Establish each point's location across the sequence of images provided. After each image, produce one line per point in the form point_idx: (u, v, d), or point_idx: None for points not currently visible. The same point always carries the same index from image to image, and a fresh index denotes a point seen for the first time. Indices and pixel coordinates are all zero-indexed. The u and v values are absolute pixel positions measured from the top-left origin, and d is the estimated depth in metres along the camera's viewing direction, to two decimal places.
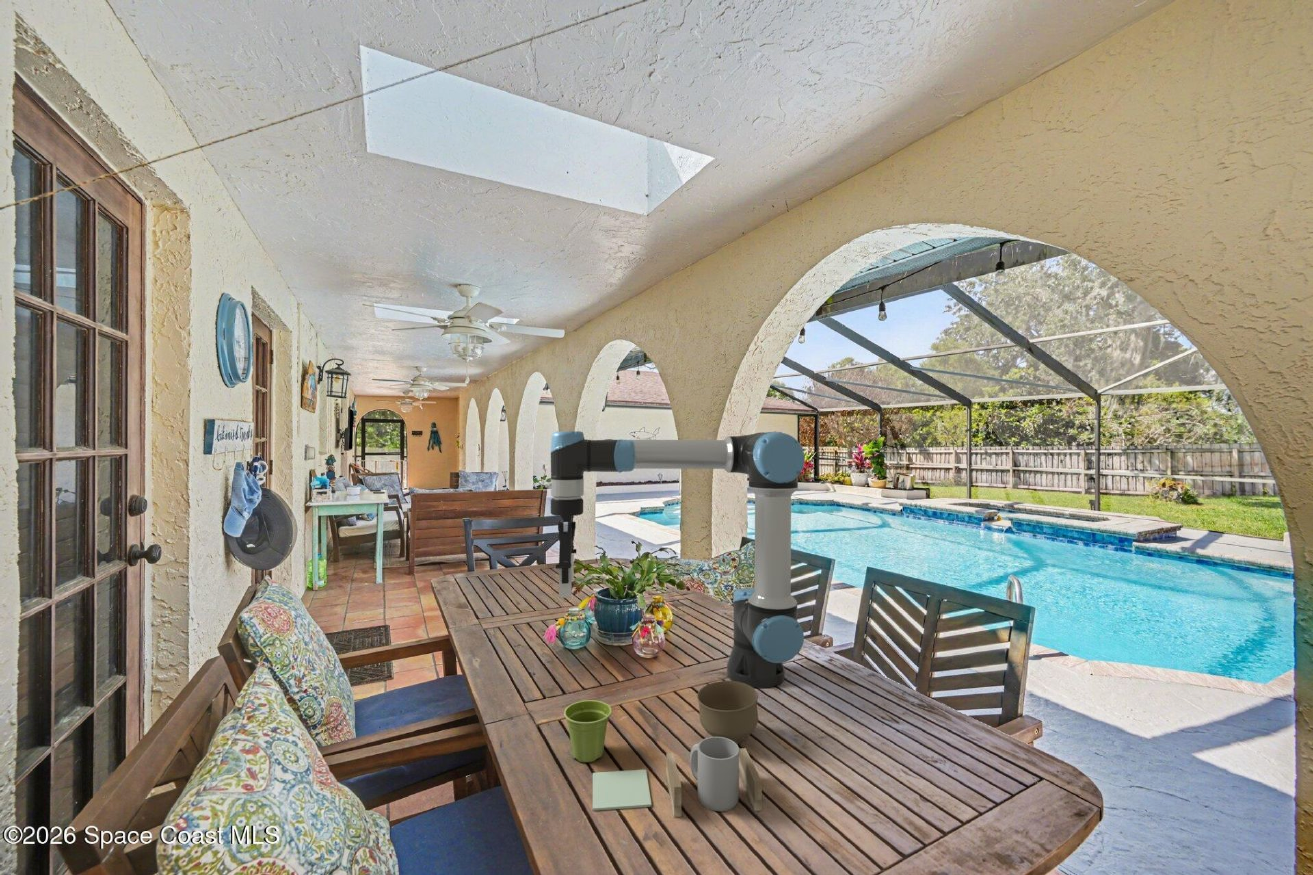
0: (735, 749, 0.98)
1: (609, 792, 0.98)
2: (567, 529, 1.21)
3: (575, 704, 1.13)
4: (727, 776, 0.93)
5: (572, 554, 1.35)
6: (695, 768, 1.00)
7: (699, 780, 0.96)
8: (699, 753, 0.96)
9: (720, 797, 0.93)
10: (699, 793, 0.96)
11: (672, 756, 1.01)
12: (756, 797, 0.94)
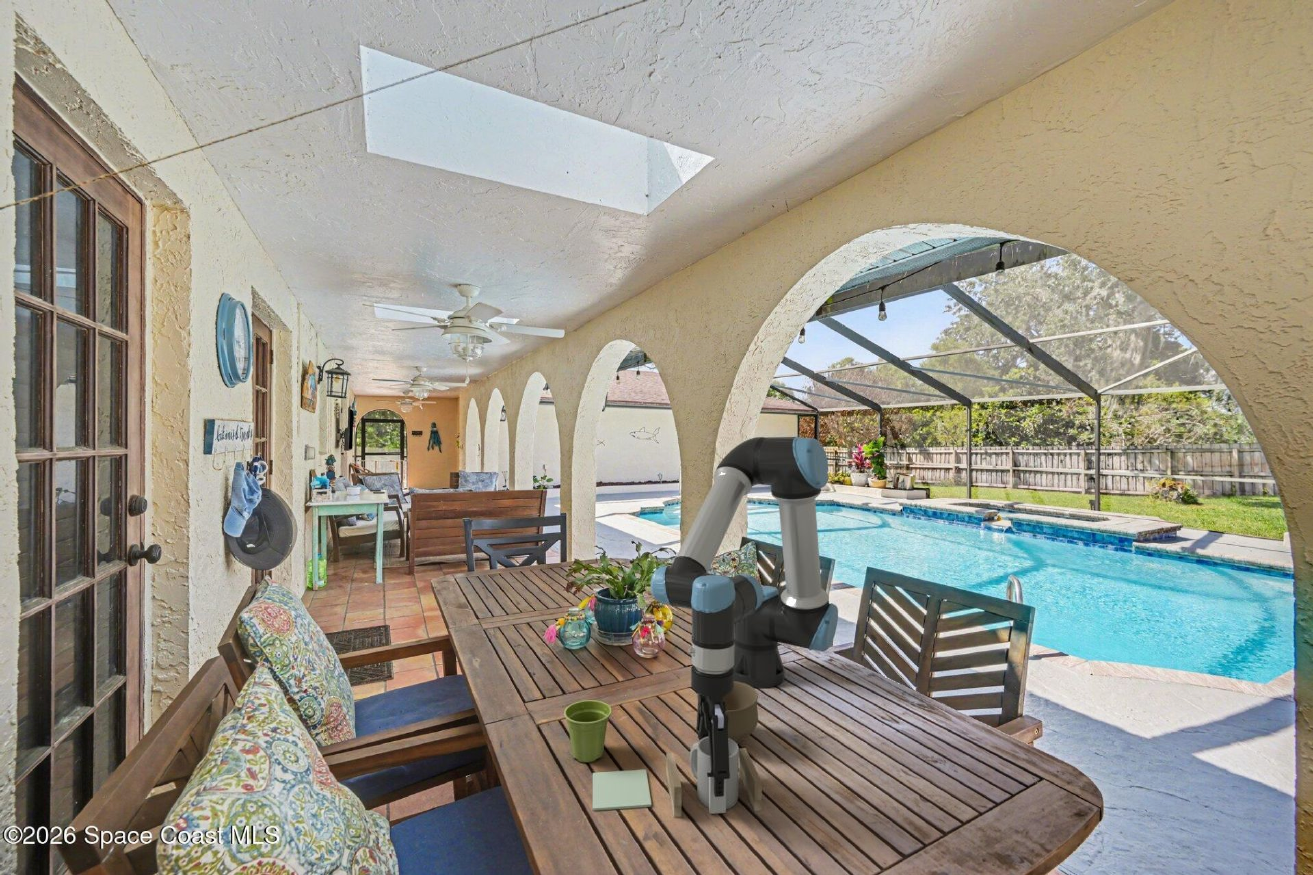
0: (735, 748, 0.98)
1: (609, 792, 0.98)
2: (723, 726, 0.91)
3: (575, 704, 1.13)
4: None
5: None
6: (695, 767, 1.00)
7: (699, 779, 0.96)
8: (699, 752, 0.96)
9: None
10: (699, 792, 0.96)
11: (672, 756, 1.01)
12: (756, 797, 0.94)
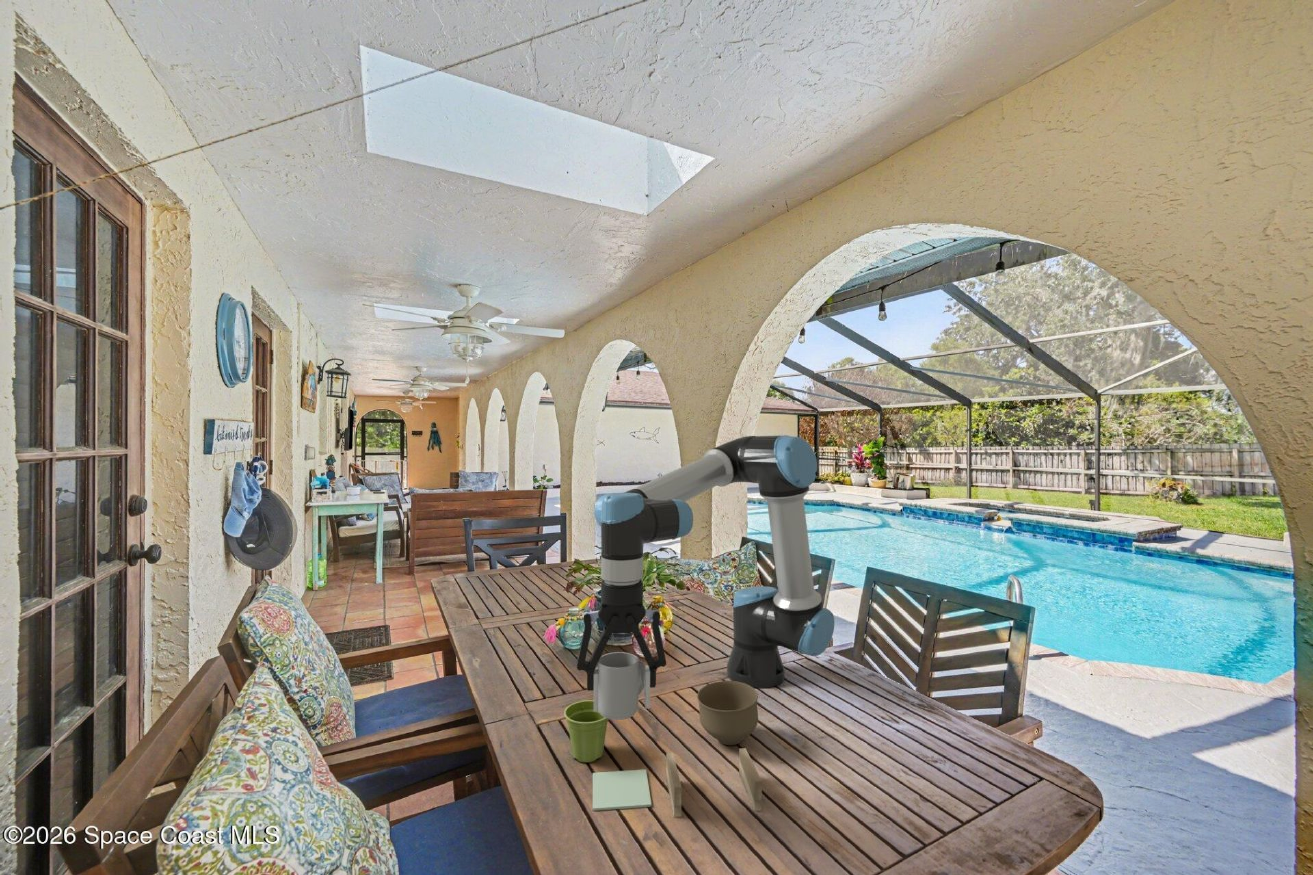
0: None
1: (609, 792, 0.98)
2: None
3: (575, 704, 1.13)
4: (598, 679, 0.97)
5: (648, 671, 0.98)
6: None
7: None
8: None
9: None
10: None
11: (672, 756, 1.01)
12: (756, 797, 0.94)
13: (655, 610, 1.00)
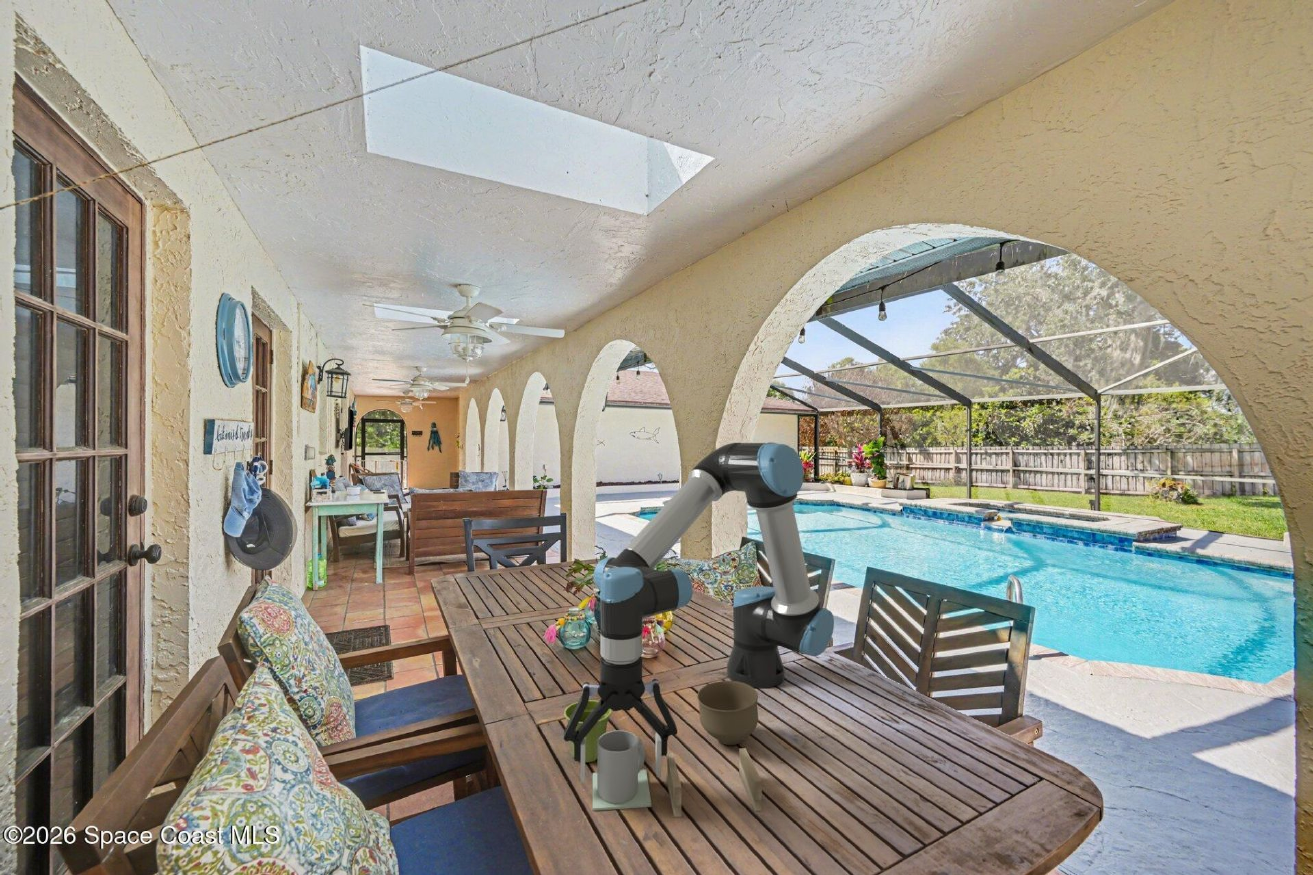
0: None
1: None
2: (582, 694, 0.98)
3: (575, 704, 1.13)
4: (598, 761, 0.97)
5: (659, 739, 0.99)
6: None
7: None
8: None
9: None
10: None
11: (672, 756, 1.01)
12: (756, 797, 0.94)
13: (654, 682, 1.00)
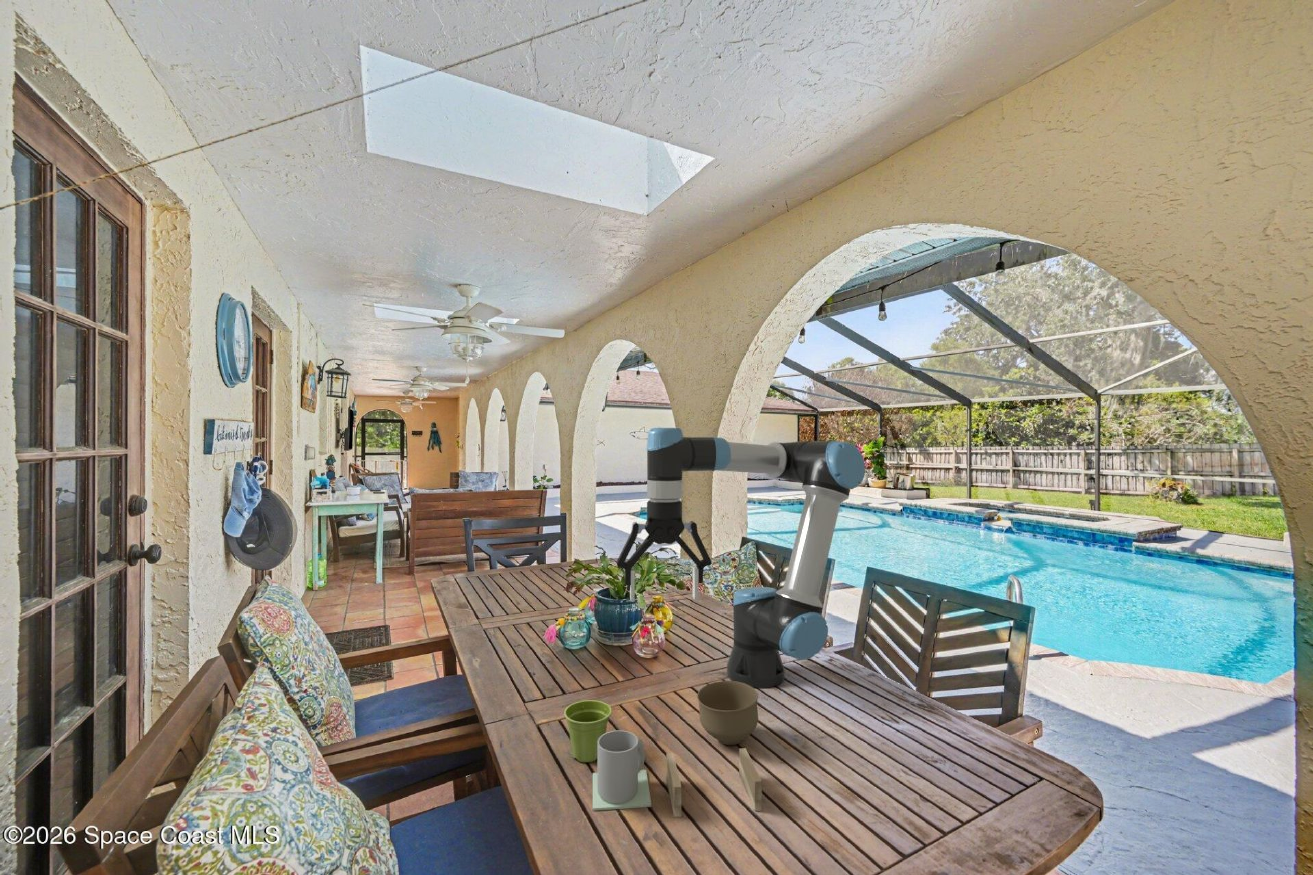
0: None
1: None
2: (632, 530, 1.17)
3: (575, 704, 1.13)
4: (598, 761, 0.97)
5: (697, 569, 1.18)
6: None
7: None
8: None
9: None
10: None
11: (672, 756, 1.01)
12: (756, 797, 0.94)
13: (691, 522, 1.19)
